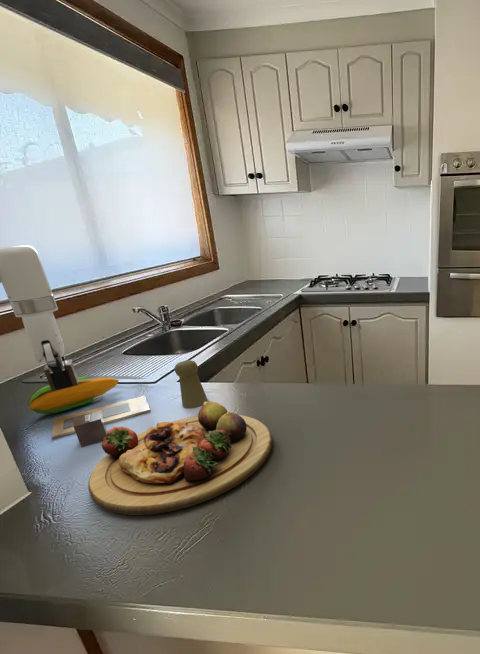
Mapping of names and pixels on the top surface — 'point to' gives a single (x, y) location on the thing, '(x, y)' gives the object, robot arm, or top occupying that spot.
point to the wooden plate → (178, 461)
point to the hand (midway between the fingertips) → (64, 383)
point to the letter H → (71, 371)
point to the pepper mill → (190, 384)
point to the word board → (103, 415)
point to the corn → (70, 395)
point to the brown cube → (90, 428)
